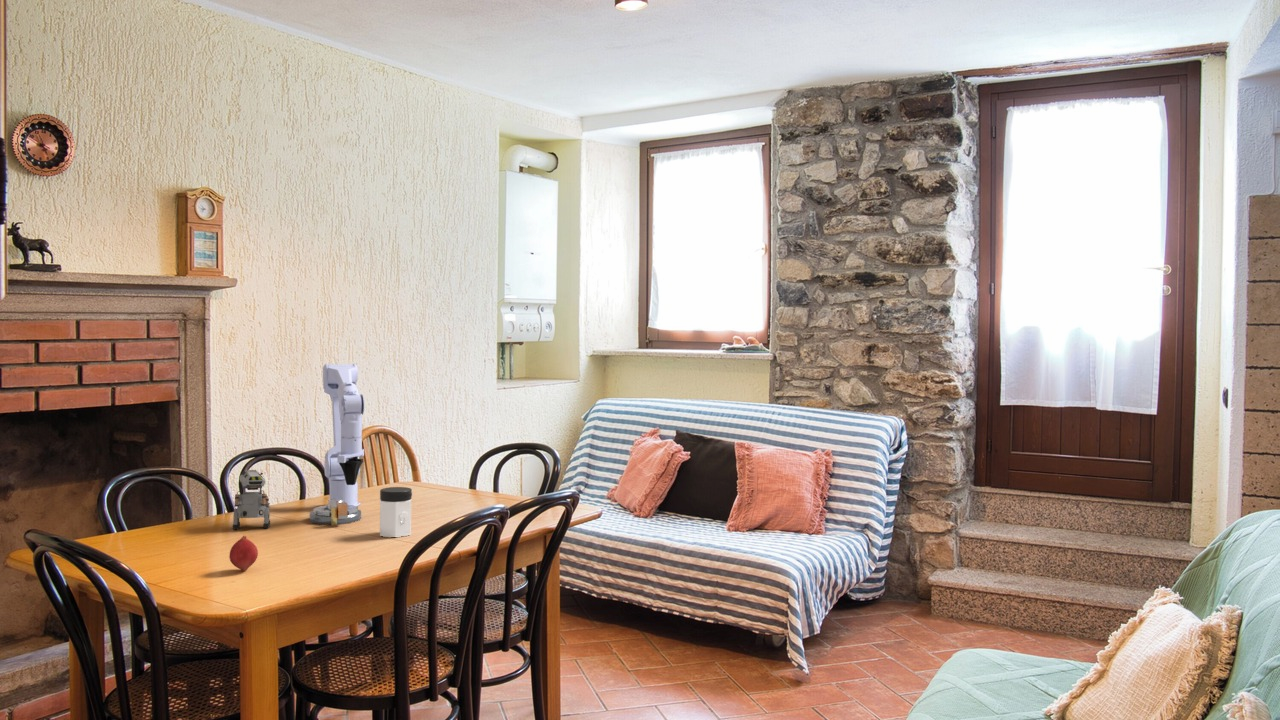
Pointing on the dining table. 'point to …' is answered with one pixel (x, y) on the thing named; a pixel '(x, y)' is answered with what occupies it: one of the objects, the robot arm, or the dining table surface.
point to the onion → (243, 553)
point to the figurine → (251, 499)
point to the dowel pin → (333, 516)
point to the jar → (395, 511)
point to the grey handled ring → (341, 510)
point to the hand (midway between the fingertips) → (350, 484)
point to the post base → (327, 519)
